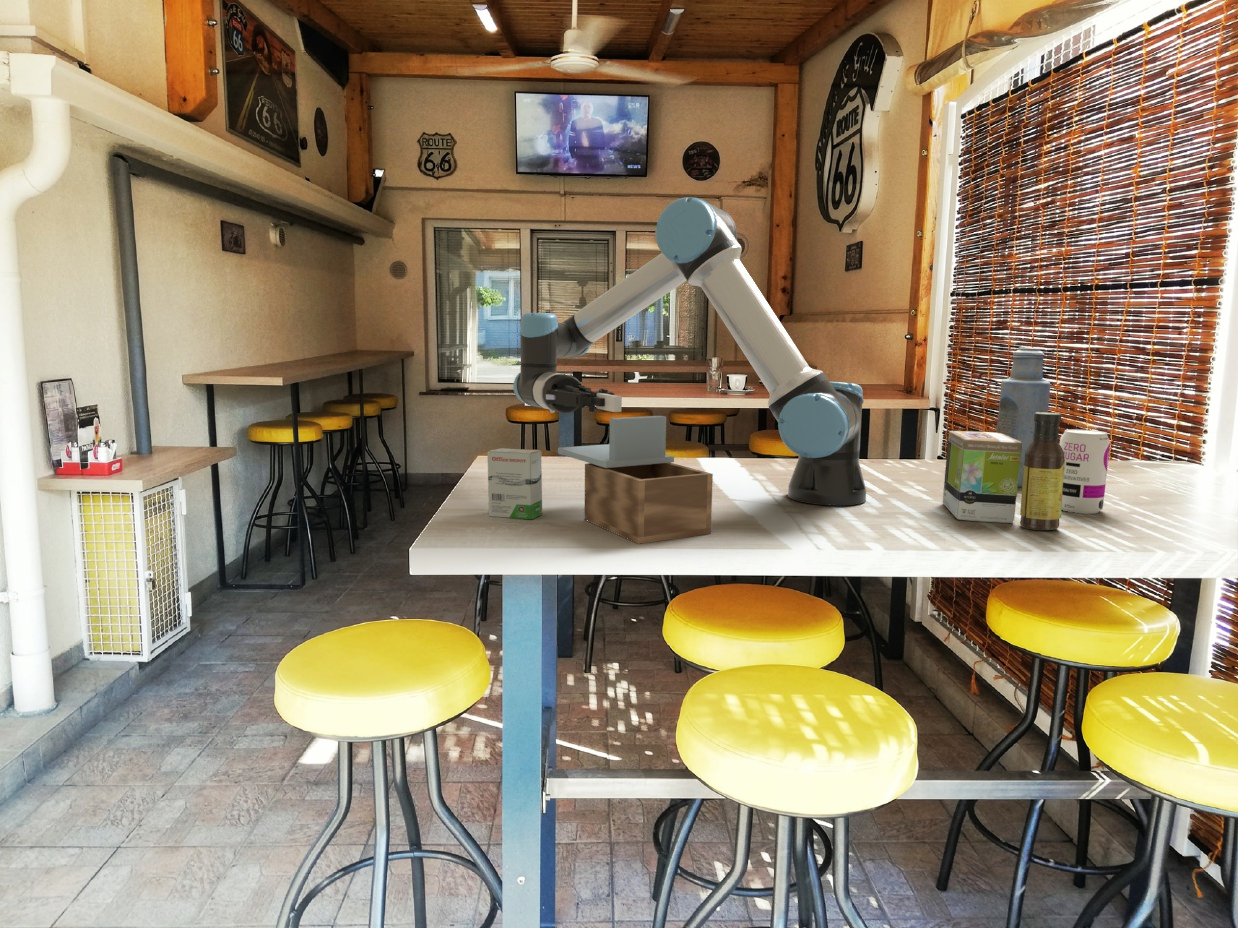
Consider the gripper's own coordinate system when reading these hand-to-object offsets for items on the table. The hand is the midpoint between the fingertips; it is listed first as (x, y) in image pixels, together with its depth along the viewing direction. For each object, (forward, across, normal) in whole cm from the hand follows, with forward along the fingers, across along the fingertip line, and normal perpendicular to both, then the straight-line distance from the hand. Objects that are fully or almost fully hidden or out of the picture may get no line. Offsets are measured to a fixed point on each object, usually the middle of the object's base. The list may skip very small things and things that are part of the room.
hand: (617, 404), depth 146 cm
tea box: (+29, -61, -20) cm, 70 cm away
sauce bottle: (+42, -60, -19) cm, 76 cm away
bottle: (+13, -95, -19) cm, 98 cm away
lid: (-1, 0, -10) cm, 10 cm away
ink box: (-8, +16, -20) cm, 27 cm away
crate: (+10, 0, -20) cm, 22 cm away
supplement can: (+36, -81, -19) cm, 91 cm away
